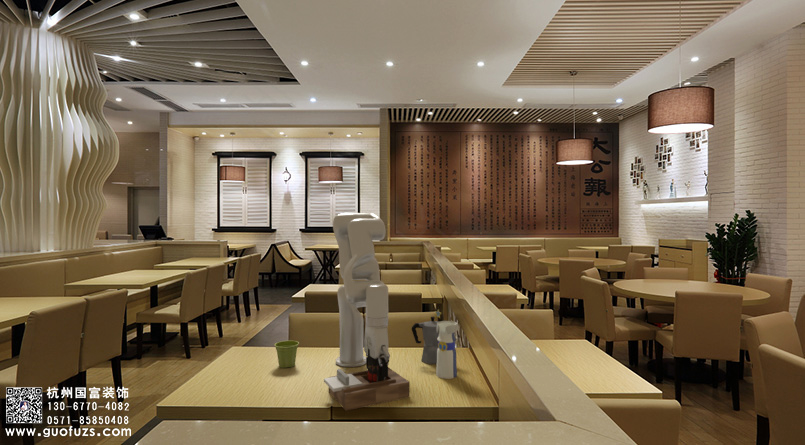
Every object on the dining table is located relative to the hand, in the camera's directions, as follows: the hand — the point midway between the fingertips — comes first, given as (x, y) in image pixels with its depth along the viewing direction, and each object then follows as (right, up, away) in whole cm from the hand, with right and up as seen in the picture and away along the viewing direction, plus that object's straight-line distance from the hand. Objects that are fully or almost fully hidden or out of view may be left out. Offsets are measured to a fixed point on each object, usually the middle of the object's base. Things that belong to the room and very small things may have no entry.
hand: (376, 372), depth 147 cm
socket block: (-3, -7, -1) cm, 7 cm away
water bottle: (+25, -7, +17) cm, 31 cm away
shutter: (-11, -2, -6) cm, 12 cm away
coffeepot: (+20, -7, +33) cm, 39 cm away
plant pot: (-37, -7, +27) cm, 46 cm away
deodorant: (0, -7, 0) cm, 7 cm away
